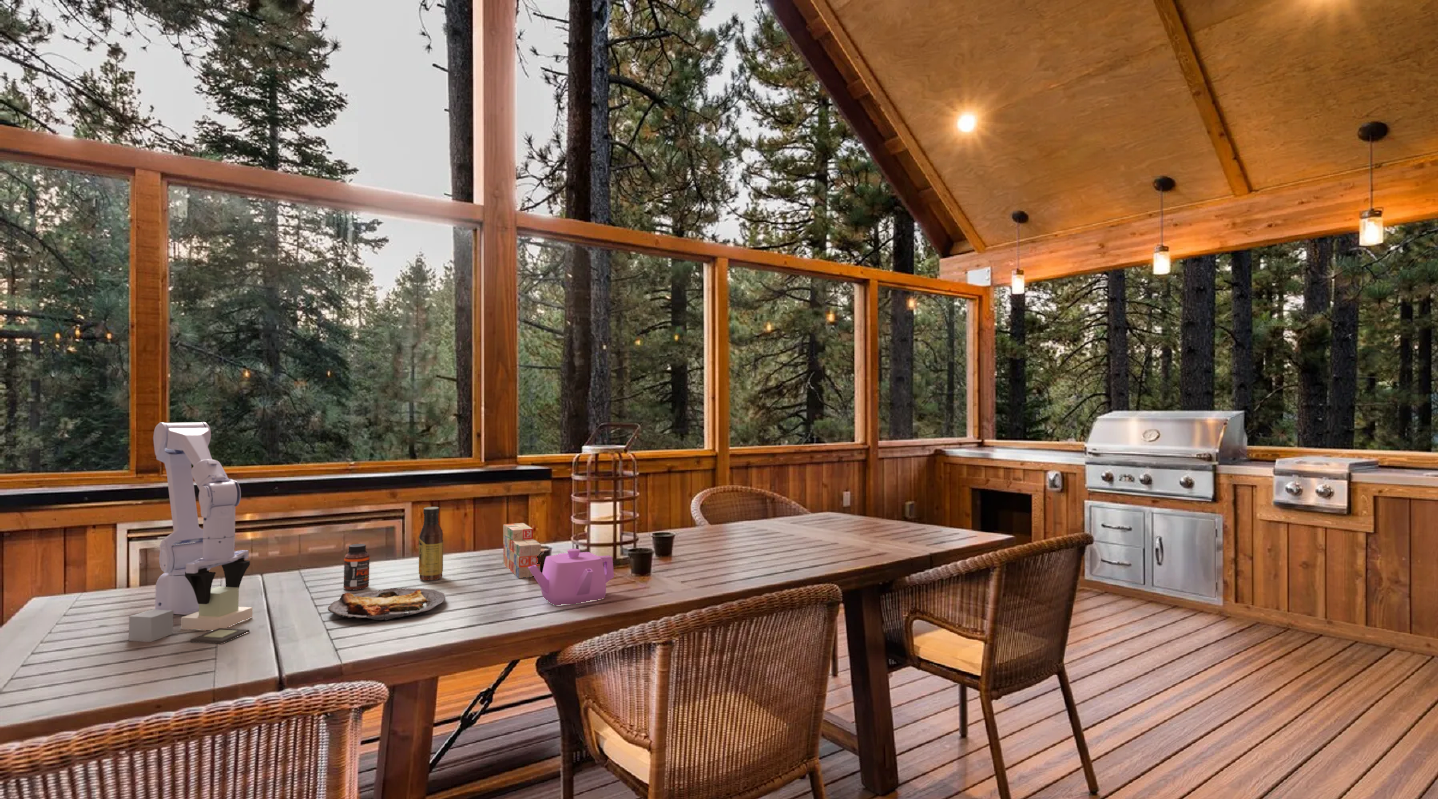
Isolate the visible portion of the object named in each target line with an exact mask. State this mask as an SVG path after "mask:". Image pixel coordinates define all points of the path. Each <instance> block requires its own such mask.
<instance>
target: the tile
mask: <svg viewBox="0 0 1438 799" xmlns="http://www.w3.org/2000/svg"><path fill="white" fill-rule="evenodd" d="M246 632H249V633H250V629H246V628H245V629H243V628H242V629H241V628H218V629H216V630H213V631H209V632H206V633H203V634H200V635H197V636H195V637H192V638H190V642H191V643H201V642H205V644H219V643H223V644H225V643H227V642H226V641H228V640H230V641H232V640H234V639H233V638H235V637H237V636H240V635H242V634H244V633H246ZM242 636H243V635H242ZM240 637H241V636H240ZM237 638H238V637H237ZM231 639H232V640H231ZM235 639H236V638H235ZM224 642H225V643H224ZM228 642H229V641H228Z"/></svg>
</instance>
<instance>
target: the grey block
mask: <svg viewBox="0 0 1438 799" xmlns="http://www.w3.org/2000/svg"><path fill="white" fill-rule="evenodd" d="M173 634H174V614H173V610H155V608H154V609H151V608H150V609H148V610H145V611H143V612H140V613H136V614H132V615H129V617H128V641H130V642H149V643H150V642H151V643H152V642H154V641H157V640H160V639H163V638H165V637H168V636H171V635H173Z"/></svg>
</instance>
